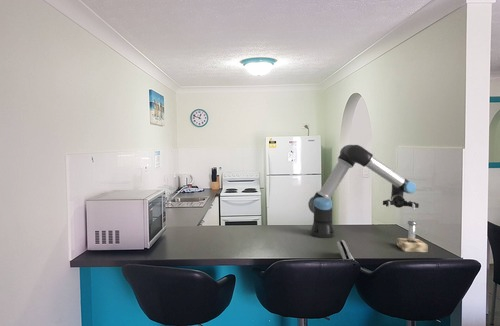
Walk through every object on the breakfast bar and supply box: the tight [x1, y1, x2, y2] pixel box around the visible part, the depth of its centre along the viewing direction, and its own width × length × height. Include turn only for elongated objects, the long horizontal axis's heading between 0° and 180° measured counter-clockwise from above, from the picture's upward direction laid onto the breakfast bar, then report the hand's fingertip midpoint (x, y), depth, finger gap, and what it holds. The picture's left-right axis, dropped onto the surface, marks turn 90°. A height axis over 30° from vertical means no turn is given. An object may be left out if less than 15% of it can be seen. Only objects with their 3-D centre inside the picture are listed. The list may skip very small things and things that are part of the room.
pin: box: [407, 220, 418, 243], centre depth 182 cm, size 5×5×15 cm
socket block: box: [396, 237, 429, 253], centre depth 182 cm, size 12×12×4 cm
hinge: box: [336, 239, 355, 260], centre depth 164 cm, size 17×5×10 cm, turn 173°
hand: (401, 206), depth 194 cm, fingers open, 13 cm apart
